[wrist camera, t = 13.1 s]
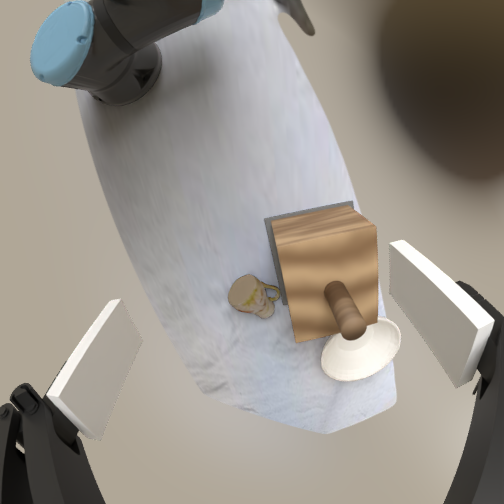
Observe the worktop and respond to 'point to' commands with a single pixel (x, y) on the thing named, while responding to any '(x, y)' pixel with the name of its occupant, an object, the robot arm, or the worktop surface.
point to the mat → (273, 243)
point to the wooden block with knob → (329, 272)
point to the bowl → (361, 352)
